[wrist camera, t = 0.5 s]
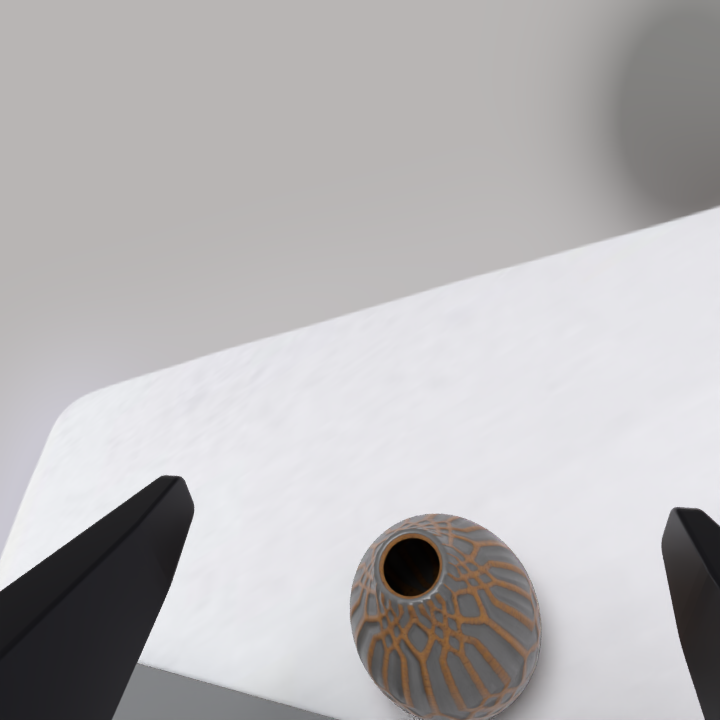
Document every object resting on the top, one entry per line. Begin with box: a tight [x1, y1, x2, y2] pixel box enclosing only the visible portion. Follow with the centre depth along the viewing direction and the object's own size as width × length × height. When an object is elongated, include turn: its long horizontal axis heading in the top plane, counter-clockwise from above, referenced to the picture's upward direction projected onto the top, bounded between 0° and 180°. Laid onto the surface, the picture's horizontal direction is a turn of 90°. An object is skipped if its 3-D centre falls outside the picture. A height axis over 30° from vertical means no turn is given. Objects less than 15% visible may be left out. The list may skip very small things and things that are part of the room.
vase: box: [350, 514, 541, 720], centre depth 19 cm, size 7×7×9 cm
